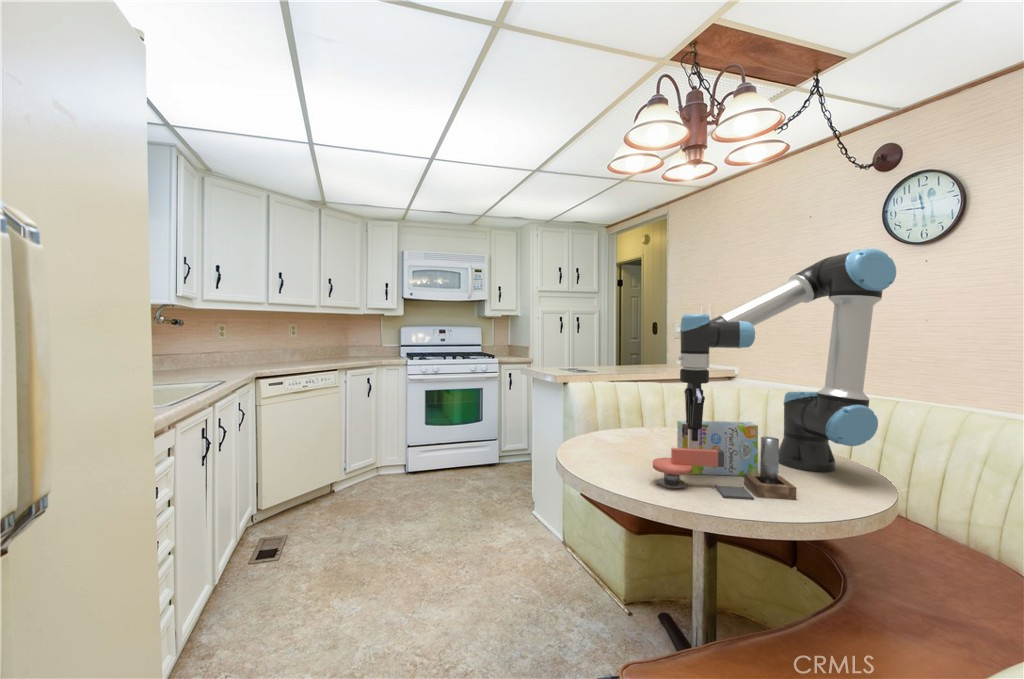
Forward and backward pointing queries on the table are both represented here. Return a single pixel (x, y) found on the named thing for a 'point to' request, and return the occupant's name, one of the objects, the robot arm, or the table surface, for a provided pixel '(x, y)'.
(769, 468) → the silver metal cylinder
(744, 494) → the pad
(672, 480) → the wheel post
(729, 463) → the snack box
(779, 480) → the block
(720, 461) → the grey-tipped salmon bar
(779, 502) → the table surface
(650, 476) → the table surface
